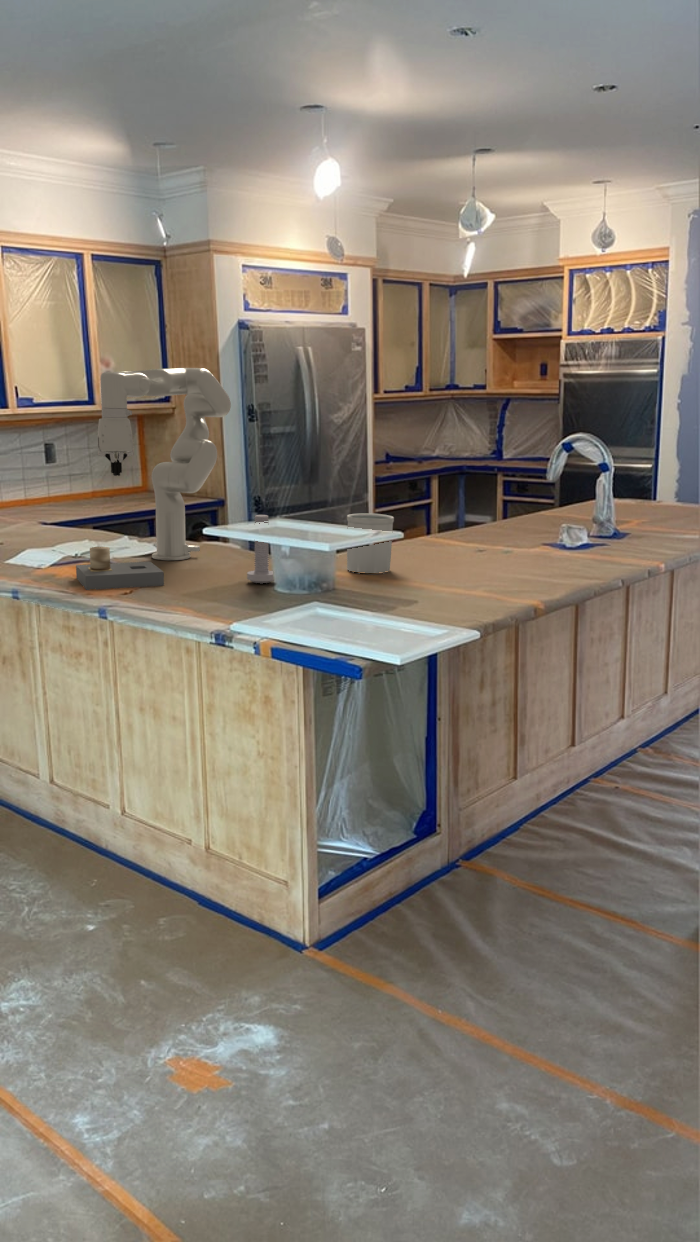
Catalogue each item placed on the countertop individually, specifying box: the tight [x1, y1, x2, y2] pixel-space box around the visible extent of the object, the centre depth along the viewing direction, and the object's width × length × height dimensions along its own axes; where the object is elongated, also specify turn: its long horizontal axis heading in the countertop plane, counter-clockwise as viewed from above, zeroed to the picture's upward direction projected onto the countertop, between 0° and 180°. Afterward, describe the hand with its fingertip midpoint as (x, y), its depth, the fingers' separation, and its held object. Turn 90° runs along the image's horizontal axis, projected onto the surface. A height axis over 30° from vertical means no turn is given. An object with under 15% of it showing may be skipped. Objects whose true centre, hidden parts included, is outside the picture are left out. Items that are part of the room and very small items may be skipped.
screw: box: [246, 514, 274, 585], centre depth 295 cm, size 8×8×20 cm
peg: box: [89, 546, 111, 571], centre depth 291 cm, size 6×6×10 cm
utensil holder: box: [346, 512, 395, 573], centre depth 318 cm, size 15×15×18 cm
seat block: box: [75, 561, 165, 591], centre depth 294 cm, size 22×18×4 cm
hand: (116, 475), depth 308 cm, fingers closed
